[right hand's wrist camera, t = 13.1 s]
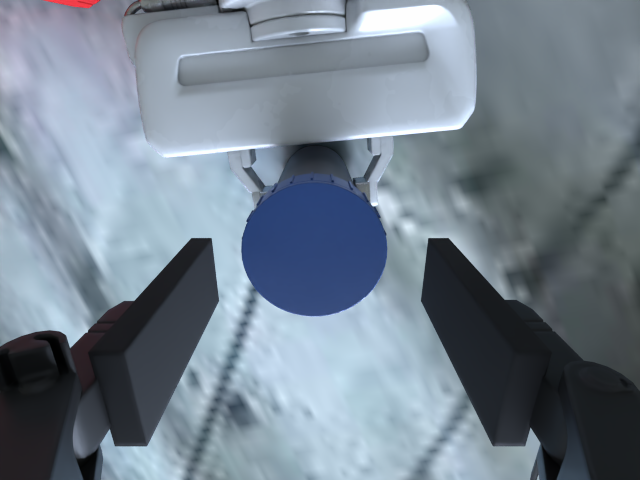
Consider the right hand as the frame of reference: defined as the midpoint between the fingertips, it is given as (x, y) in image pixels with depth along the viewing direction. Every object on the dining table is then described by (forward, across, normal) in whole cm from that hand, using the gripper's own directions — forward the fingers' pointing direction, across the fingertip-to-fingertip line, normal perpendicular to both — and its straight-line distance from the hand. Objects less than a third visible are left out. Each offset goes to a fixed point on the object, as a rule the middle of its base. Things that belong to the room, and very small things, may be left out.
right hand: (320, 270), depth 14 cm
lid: (+2, 0, 0) cm, 2 cm away
